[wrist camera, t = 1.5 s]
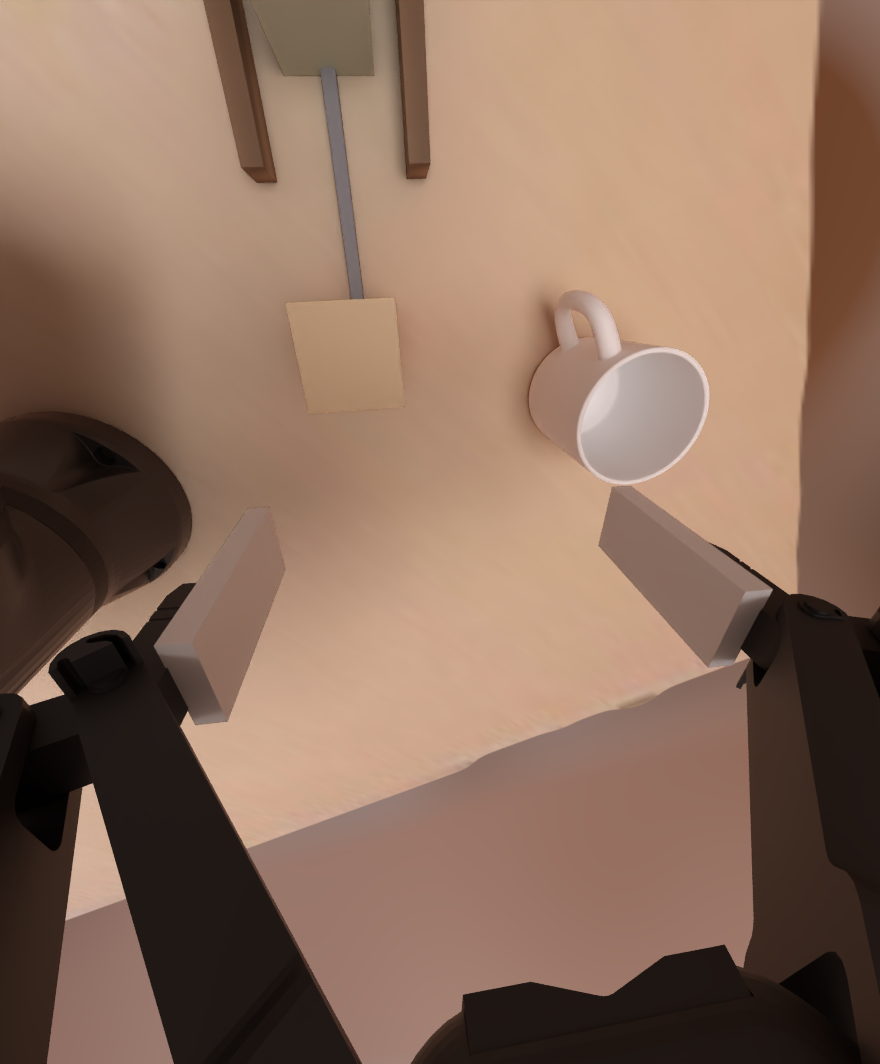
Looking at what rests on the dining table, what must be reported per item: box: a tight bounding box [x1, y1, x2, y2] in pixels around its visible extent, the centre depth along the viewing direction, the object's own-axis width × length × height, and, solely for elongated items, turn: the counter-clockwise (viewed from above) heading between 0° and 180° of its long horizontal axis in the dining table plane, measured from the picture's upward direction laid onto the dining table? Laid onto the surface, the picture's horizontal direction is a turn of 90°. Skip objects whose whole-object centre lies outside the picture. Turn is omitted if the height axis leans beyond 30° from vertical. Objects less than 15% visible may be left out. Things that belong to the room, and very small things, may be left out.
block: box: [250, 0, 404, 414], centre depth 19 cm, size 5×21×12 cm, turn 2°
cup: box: [529, 290, 709, 485], centre depth 27 cm, size 8×12×10 cm
